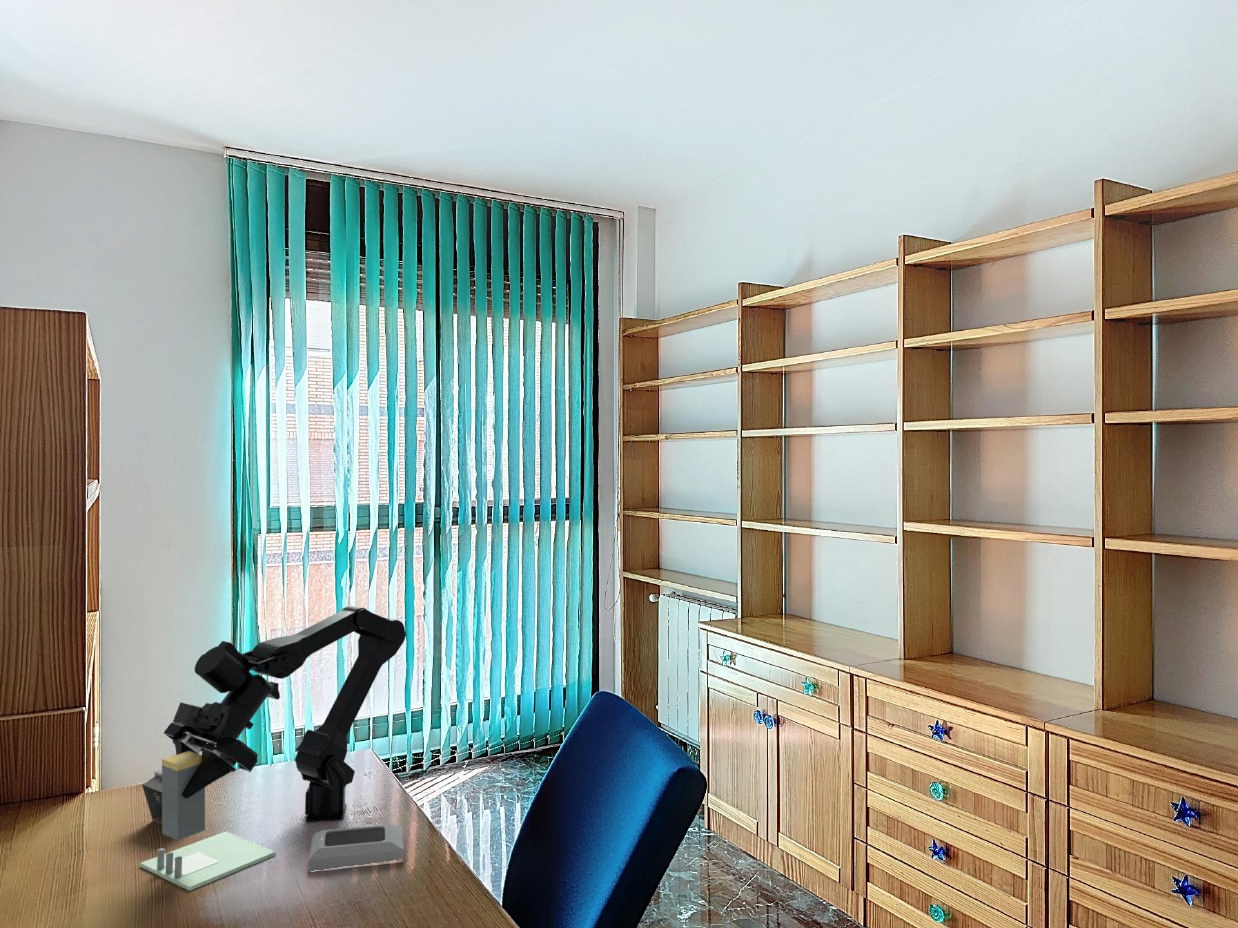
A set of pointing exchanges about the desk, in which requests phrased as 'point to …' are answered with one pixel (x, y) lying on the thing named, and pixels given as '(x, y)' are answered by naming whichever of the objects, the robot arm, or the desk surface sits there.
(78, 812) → the desk surface
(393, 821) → the desk surface
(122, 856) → the desk surface
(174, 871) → the board
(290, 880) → the desk surface
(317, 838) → the grey beveled box
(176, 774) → the plug block
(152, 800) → the electrical switch
